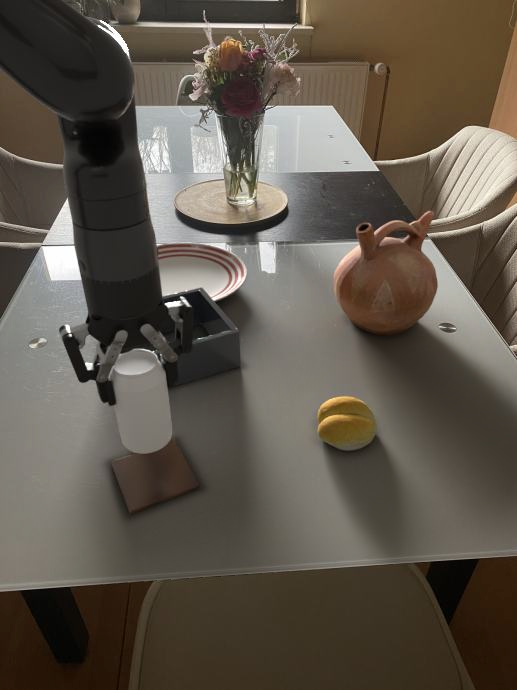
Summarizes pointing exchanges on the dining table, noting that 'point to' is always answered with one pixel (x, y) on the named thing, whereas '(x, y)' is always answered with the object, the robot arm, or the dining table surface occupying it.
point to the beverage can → (141, 401)
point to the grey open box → (205, 339)
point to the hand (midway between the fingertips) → (140, 392)
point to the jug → (387, 277)
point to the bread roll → (346, 423)
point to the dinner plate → (199, 269)
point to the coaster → (153, 477)
